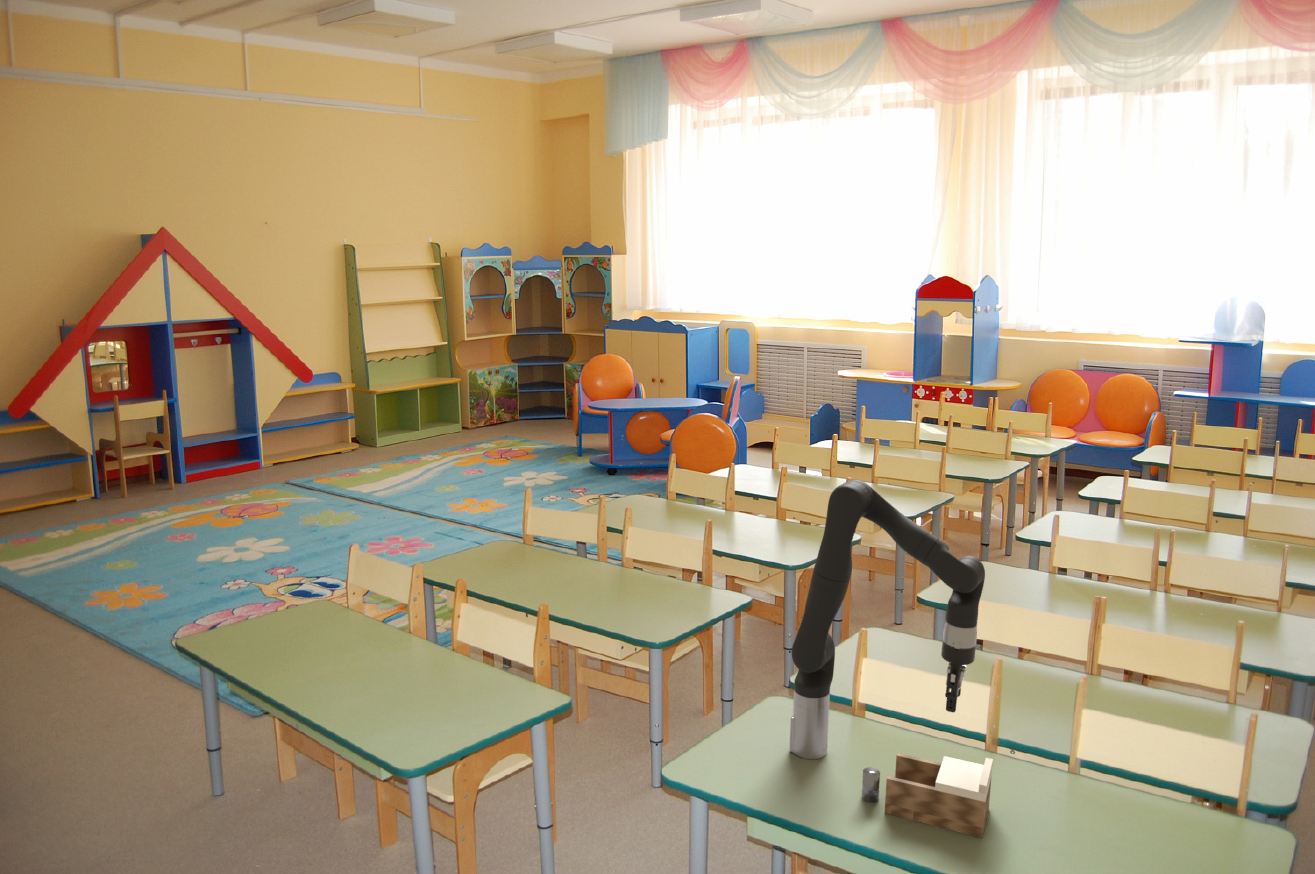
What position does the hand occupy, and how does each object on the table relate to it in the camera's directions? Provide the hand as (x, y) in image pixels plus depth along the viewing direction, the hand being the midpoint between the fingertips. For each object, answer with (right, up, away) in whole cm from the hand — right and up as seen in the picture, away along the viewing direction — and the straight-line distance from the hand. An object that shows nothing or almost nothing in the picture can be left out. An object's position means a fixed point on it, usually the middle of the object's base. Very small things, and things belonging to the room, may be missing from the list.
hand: (953, 703), depth 229 cm
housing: (-5, -25, -3) cm, 25 cm away
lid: (0, -16, -7) cm, 18 cm away
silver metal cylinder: (-19, -24, +3) cm, 31 cm away
